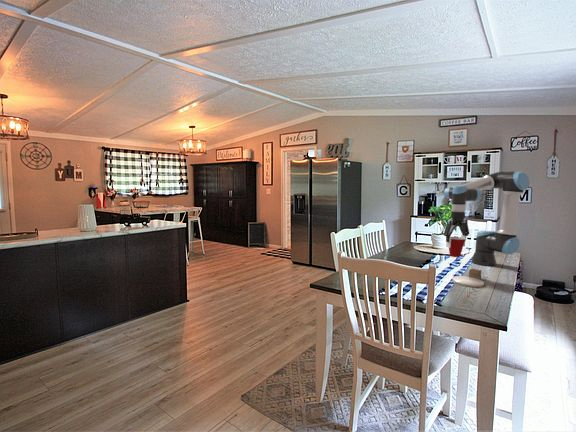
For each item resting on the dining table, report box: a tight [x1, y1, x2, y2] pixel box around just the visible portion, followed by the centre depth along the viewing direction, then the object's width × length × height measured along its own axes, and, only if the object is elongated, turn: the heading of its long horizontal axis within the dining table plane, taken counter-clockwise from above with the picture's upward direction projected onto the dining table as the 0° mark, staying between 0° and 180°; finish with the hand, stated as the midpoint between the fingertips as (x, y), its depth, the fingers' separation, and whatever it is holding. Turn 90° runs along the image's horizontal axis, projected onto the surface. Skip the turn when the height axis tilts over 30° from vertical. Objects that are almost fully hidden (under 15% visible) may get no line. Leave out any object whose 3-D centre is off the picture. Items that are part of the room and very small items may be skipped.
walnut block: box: [468, 268, 482, 280], centre depth 206 cm, size 5×5×5 cm
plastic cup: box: [448, 236, 467, 258], centre depth 210 cm, size 11×11×12 cm
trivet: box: [452, 275, 485, 288], centre depth 197 cm, size 16×16×2 cm
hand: (455, 246), depth 210 cm, fingers closed on plastic cup, 11 cm apart
